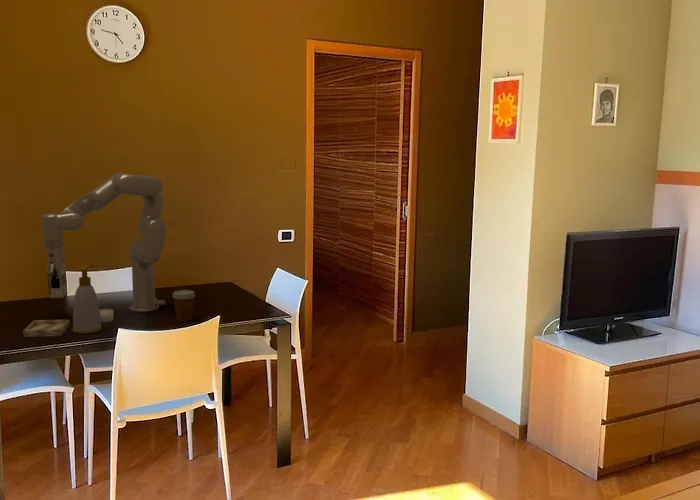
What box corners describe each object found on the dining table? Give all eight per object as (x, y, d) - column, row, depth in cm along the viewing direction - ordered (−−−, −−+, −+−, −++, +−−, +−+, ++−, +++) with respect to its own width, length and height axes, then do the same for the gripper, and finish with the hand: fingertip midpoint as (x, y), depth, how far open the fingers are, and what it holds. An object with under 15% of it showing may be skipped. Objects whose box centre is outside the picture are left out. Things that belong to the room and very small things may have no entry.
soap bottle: (107, 327, 278) (105, 264, 274) (92, 335, 267) (89, 270, 262) (82, 325, 280) (79, 262, 275) (66, 333, 269) (62, 268, 264)
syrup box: (53, 294, 286) (50, 261, 283) (68, 294, 287) (65, 260, 284) (49, 298, 281) (45, 264, 278) (63, 297, 281) (60, 263, 278)
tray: (70, 325, 279) (69, 319, 279) (61, 335, 266) (61, 329, 265) (33, 326, 277) (33, 320, 277) (23, 336, 263) (23, 330, 263)
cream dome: (115, 317, 292) (114, 308, 291) (112, 322, 285) (111, 313, 285) (98, 318, 291) (97, 309, 290) (94, 322, 284) (94, 313, 283)
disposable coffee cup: (184, 323, 285) (183, 296, 283) (168, 320, 290) (167, 292, 288) (200, 318, 293) (200, 291, 291) (184, 315, 298) (184, 288, 296)
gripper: (58, 247, 271) (62, 290, 275) (68, 239, 288) (72, 280, 292) (38, 247, 270) (42, 291, 274) (49, 240, 287) (53, 281, 291)
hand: (57, 285), depth 283 cm, fingers closed on syrup box, 5 cm apart
